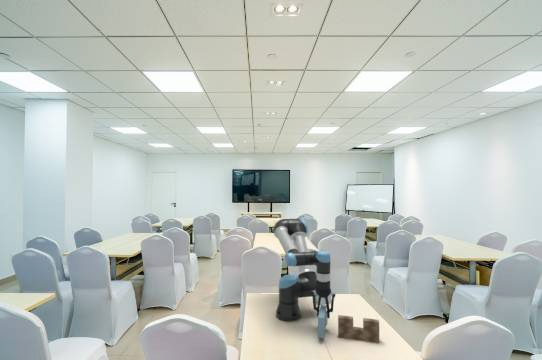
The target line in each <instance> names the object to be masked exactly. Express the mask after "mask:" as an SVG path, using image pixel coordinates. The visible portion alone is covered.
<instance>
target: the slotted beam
mask: <svg viewBox="0 0 542 360" xmlns="http://www.w3.org/2000/svg"><path fill="white" fill-rule="evenodd" d="M337 315H338V316H337V324H338V325H337V328H338V329H337V333H338V335H337V336H338V338H343V339H349V340H356V341H364V342H369V343H376V344H380V320H379V319H374V318H366V317H363V318H362V322H363V323H362V325H363V326H362V327H358V326H354V316H350V315H349V316H348V315H342V314H337Z"/></svg>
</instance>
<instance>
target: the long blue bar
mask: <svg viewBox="0 0 542 360" xmlns="http://www.w3.org/2000/svg"><path fill="white" fill-rule="evenodd" d="M319 310H320V311H319V315H318V317H317V338H318V339H325V335H326V327H327V325H326V311H327V307H326V304H322V305H320V309H319Z"/></svg>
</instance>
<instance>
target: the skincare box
mask: <svg viewBox="0 0 542 360" xmlns="http://www.w3.org/2000/svg"><path fill="white" fill-rule="evenodd" d="M330 289H331V290H332V287H331V286H330ZM315 298H316V305H318V300H319V296H315ZM331 300H332V296H331V294H330V295H329V296H328V302H329V304H331ZM321 305H326V300H325V298H321V302H320V306H321Z"/></svg>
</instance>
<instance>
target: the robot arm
mask: <svg viewBox="0 0 542 360" xmlns="http://www.w3.org/2000/svg"><path fill="white" fill-rule="evenodd" d="M306 221H307V220H305V219H304V218H299V217H298V218H281V219H279V220H278V221H276V222H275V224H274V226H273V230H272V231H273V235H274V236H275V237H276V239H278V241H279V244H280V245H281V247H282V249H283V251H284V253H285V254H284V262H285V265H286V266H287V267H298V270H299V271H298V272H299V274H298V275H296V274H285V275H283V276H281V277H280V278H279V281H278V304H277V307H276V311H275V316H276V318H277V319H278V320H281V321H284V322H294V321H298V320H301V317H302V312H301V308H300V305H299V298H310V297H311V298H312V307H313V310H314V311H316V317H317V318H318V315H319V311H320V307H321V305H320V302H321V298H325V300H326V304H325V305H326V326H328V323H329V322H328V319H330V315H331V314H330V313H333V312H334V302H335V298H336V292H333V291H332V288H331V289H330V287H331V261H332V260H331V253H330V251H327V250H319V251H318V250H315V249H314V250H313V249H311V250H308V246H307V245H308V244H307V241H306V236H307V235H308V232H309V231H308V230H309V229H308V224H307V222H306ZM312 266H315V267H316V271H315V270H313V267H312ZM330 294H331V303H329V302H328V296H329V295H330ZM315 296H319V300H318V304H316V298H315Z"/></svg>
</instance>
